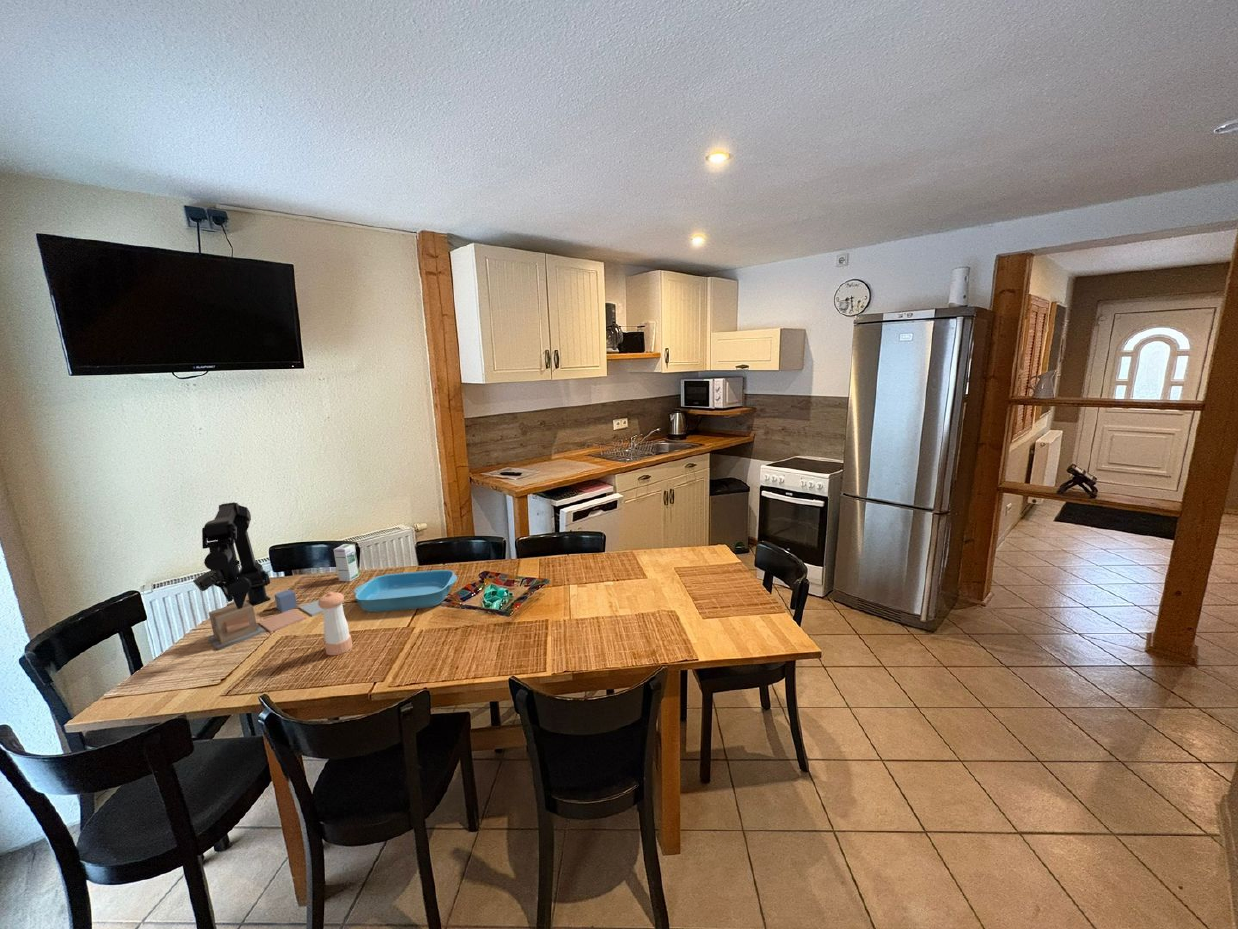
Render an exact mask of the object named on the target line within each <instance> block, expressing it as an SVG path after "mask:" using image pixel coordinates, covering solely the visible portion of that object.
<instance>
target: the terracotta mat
mask: <svg viewBox="0 0 1238 929" xmlns="http://www.w3.org/2000/svg"><path fill="white" fill-rule="evenodd" d="M306 619H307V616H305V615H303V614H302V613H300V612H299V611H297V610H296V609H295V608H294V609H291V610H288V611H286V612H283V613H282V612H280V613H279V614H277V615H274V616H271V617H268V618H265V619H262V620H260V621H258V625H259V626H260V625H261V626H262V628H263V629H265V630H267V631H268V632H270V633H274V632H276V631H278V630H280V629H283V628H286V627H288V626H291V625H293V624H296V623H299V622H301V621H303V620H304V621H305V620H306Z"/></svg>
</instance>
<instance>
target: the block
mask: <svg viewBox="0 0 1238 929" xmlns="http://www.w3.org/2000/svg"><path fill="white" fill-rule="evenodd" d="M274 599H275V605H276V610H278V611H279V612H280V613H284V612H287V611H290V610H292V609H294V610H295V609H296V608H298V602H297V597H296V593H295V591H293V590H291V589H286V590H283V591H280V592H277V593H275V594H274Z"/></svg>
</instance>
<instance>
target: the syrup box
mask: <svg viewBox="0 0 1238 929" xmlns="http://www.w3.org/2000/svg"><path fill="white" fill-rule="evenodd" d="M333 555H334V561H335V566H336V570H337V575H338V576H337V577H338V581H341V582H353V581H354V580H355V579H357V578H360V576H361V573H360V569H359V563H358V562H359V561H358V558H357V551H356V546H355V544H353V543H344V544H343V543H342V545H339V546H338V547H336V548H333Z"/></svg>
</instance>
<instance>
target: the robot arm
mask: <svg viewBox="0 0 1238 929" xmlns="http://www.w3.org/2000/svg"><path fill="white" fill-rule="evenodd" d="M251 520H252V515H251V511H250V510H249V508H248V507H247V506H244V505H240V504H239V503H238V502H234V501H233V502H228V503H222V504H218V510H217V513H216V515H215V517H214V519H212V520H208V521H207V522H206V523H205V524H204V527H201V528H202V529H201V533H202V534H201V538H202V539H201V540H202V544H201V546H202V549H209V552H208V554H207V555H206V556H205V558H204V560H203V564H204V566H205V567H206V569H208V570H209V571H207V572H205V573H203V574H201V575H200V576H198V577H196V578H194V579H193V581H192V582H193V584H194V585H195V586H196V587H197V588H198V589H199V590H200V591H201V592H205V591H207V590H208V589H209V588H210V587H213V586H215V587H218V588H220V589H221V592H222V593H223V595H224V597H225V598H226V601H227V603H228V602H229V603H231V602H234V604H236V607H237V609H241V608H242V607H243V604H244V601H246V602H248V603H249V604H251V605H252V606H253V607H254V606H256V605H258V604H261V603H265V602H267V601H270V600H271V597H270V596H268V595H267V591H266V586H269V585H270V584H271V579H270V576H269V573H267V571H266V570H265V569H264V567H263V565H262V564H260V563H259V562H258V561H256V558H255V554H254V551H253V547H252V543H251V539H250V536H249V533H248V529H249V528H250V523H251ZM237 556H238V558H239V559H238V558H237ZM239 565H240V568H239ZM246 598H248V599H247V600H246Z"/></svg>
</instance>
